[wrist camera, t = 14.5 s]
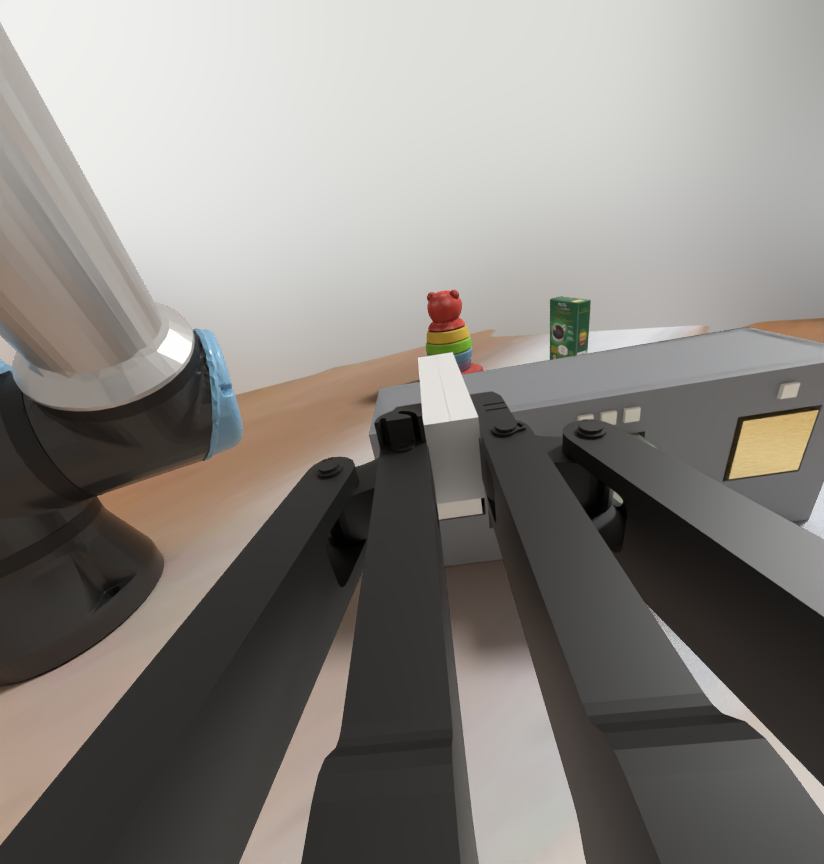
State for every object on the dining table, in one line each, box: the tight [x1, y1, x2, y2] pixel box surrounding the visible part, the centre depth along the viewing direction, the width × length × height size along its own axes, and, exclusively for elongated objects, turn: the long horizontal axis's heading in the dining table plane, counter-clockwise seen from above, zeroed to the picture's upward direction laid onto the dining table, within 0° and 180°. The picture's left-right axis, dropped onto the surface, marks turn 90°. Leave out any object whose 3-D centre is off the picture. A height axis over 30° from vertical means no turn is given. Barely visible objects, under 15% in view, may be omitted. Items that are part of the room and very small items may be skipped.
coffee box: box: [550, 297, 591, 360], centre depth 68 cm, size 8×3×13 cm, turn 16°
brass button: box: [724, 406, 819, 479], centre depth 29 cm, size 6×5×5 cm
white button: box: [437, 498, 483, 520], centre depth 31 cm, size 6×5×5 cm
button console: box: [369, 327, 824, 567], centre depth 32 cm, size 10×34×14 cm, turn 90°
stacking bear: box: [426, 290, 483, 375], centre depth 74 cm, size 11×10×18 cm
